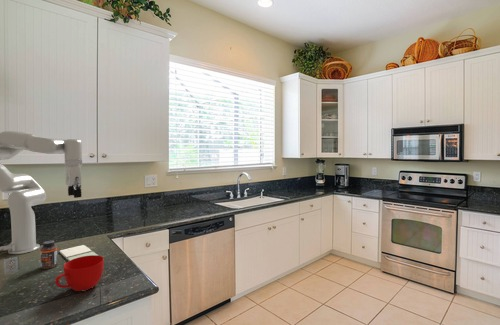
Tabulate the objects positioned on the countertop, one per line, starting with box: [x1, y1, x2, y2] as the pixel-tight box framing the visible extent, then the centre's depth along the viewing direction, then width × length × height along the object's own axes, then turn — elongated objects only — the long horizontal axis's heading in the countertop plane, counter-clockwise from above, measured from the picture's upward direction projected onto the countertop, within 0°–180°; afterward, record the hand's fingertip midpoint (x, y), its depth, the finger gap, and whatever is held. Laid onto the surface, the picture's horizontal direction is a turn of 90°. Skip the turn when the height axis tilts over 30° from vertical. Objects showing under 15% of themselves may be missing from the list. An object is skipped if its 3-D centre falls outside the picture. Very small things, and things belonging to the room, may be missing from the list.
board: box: [59, 244, 100, 262], centre depth 130 cm, size 11×27×1 cm, turn 48°
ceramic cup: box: [54, 254, 105, 292], centre depth 99 cm, size 13×17×10 cm
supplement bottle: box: [40, 240, 58, 270], centre depth 119 cm, size 6×6×11 cm
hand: (74, 196), depth 137 cm, fingers open, 9 cm apart
